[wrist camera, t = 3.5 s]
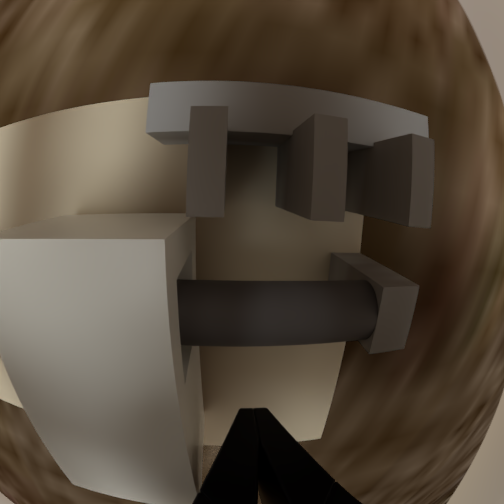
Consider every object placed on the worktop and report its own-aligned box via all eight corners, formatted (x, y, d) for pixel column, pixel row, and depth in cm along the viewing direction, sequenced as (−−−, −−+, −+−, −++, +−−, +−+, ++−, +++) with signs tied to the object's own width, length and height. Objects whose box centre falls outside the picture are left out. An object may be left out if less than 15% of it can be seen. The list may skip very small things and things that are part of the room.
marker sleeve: (196, 212, 7) (164, 239, 4) (204, 419, 9) (200, 508, 5) (68, 214, 7) (-27, 239, 3) (104, 408, 9) (72, 484, 5)
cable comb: (384, 121, 8) (479, 91, 4) (337, 427, 11) (370, 499, 7) (-86, 170, 6) (-133, 176, 1) (-52, 365, 9) (-85, 395, 4)
